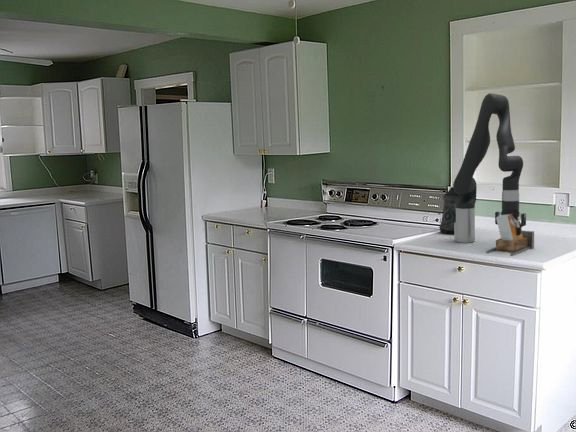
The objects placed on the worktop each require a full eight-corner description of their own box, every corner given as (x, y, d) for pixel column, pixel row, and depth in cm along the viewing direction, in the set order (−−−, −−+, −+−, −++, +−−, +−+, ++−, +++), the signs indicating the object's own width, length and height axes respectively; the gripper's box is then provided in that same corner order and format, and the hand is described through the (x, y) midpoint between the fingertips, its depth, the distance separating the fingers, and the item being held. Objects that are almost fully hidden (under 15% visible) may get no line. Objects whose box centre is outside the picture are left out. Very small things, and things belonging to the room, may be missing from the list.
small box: (514, 243, 268) (507, 216, 267) (502, 244, 273) (495, 217, 272) (523, 238, 273) (517, 211, 272) (511, 238, 278) (504, 212, 277)
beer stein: (450, 228, 337) (449, 185, 334) (481, 232, 323) (480, 186, 319) (433, 233, 326) (432, 188, 323) (464, 236, 312) (463, 189, 308)
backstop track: (484, 253, 270) (484, 235, 269) (505, 245, 284) (505, 229, 283) (514, 256, 260) (514, 238, 259) (534, 248, 274) (534, 231, 273)
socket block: (495, 250, 273) (495, 240, 273) (507, 246, 282) (507, 235, 281) (516, 252, 266) (516, 242, 266) (527, 248, 274) (528, 237, 274)
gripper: (529, 199, 268) (528, 234, 270) (499, 197, 278) (499, 231, 281) (522, 201, 263) (521, 237, 265) (491, 199, 273) (491, 234, 275)
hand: (510, 234), depth 273 cm, fingers closed on small box, 7 cm apart
